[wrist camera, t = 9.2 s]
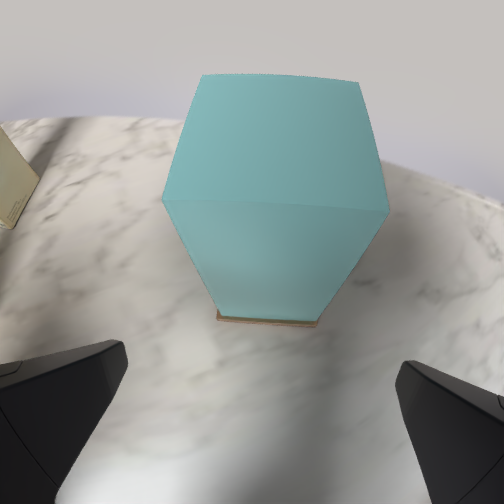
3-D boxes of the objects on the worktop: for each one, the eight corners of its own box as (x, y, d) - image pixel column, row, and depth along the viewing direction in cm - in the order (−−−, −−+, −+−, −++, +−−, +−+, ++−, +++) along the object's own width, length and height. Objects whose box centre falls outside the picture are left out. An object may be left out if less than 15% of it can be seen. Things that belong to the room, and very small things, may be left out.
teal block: (315, 321, 18) (389, 211, 7) (221, 315, 18) (161, 199, 7) (316, 237, 20) (358, 82, 9) (231, 232, 21) (202, 74, 10)
